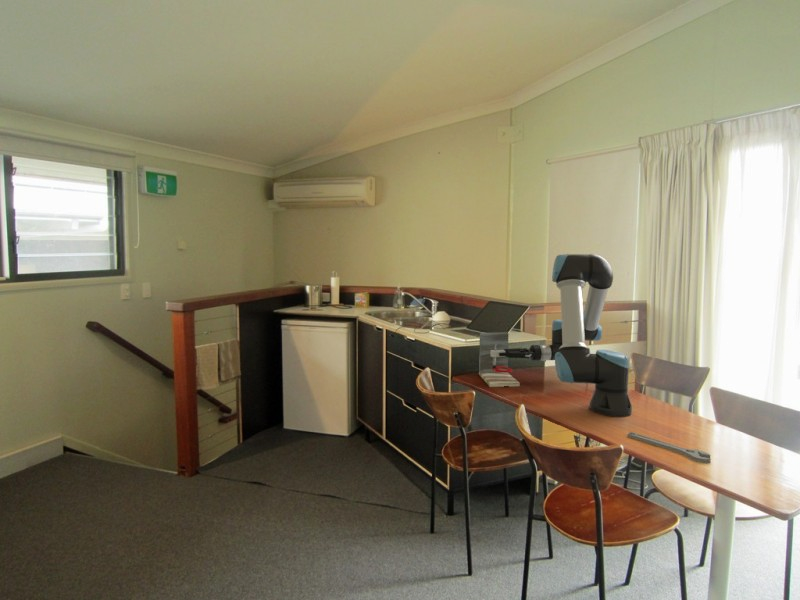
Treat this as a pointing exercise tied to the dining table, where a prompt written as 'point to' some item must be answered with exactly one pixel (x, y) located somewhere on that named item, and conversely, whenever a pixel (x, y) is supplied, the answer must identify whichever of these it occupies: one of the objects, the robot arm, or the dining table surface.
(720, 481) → the dining table surface
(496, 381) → the grey l-shaped piece
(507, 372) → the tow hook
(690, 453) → the adjustable wrench
